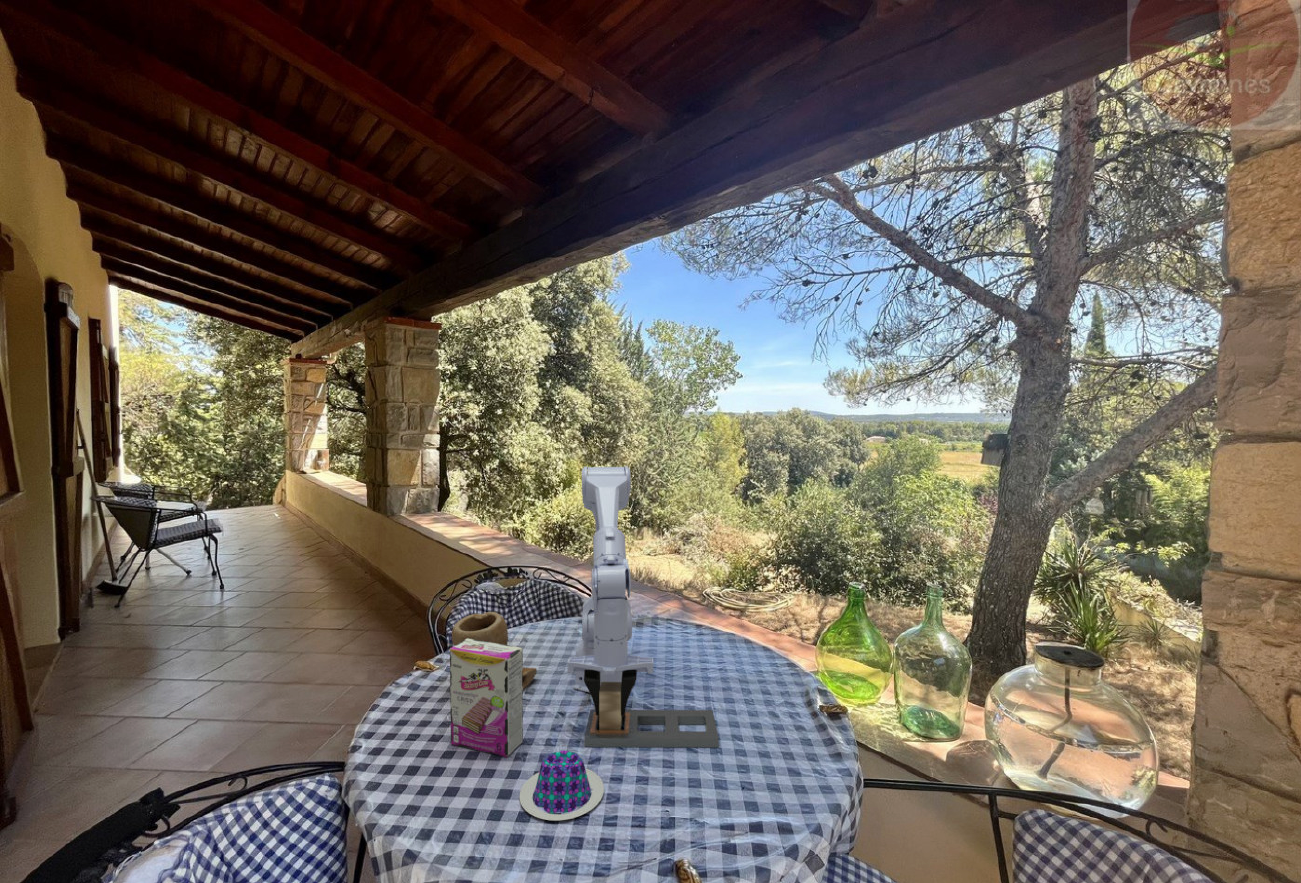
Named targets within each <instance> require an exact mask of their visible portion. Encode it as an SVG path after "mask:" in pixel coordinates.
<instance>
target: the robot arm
mask: <svg viewBox="0 0 1301 883" xmlns="http://www.w3.org/2000/svg"><path fill="white" fill-rule="evenodd" d="M631 479H632V478H631V469H630V468H629V467H628V465H624V466H587V465H586V466H583V467H582V469H581V496H582V504H583V508H584V509H586V510H588V511H591V512H592V516H593V519H594V522H595V524H594V525H595V533H594V535H593V536H592V540H593V541H592V544H593V546H592V552H593V554H592V556H593V568H591V574H590V575H591V580H590V581H591V584H590V585H591V595H590V596H589V597H588V598H587V599H586V600H584V602H583V604H582V613H581V617H582V619H581V622H582V623H581V628H582V629H581V634H582V635H581V638H582V639H581V641H580V642H579V644H578V646H577V648H576V651H575V656H573V657H571V656H569V658H568V660H567V674H574V673H575V684H574V685H572V687H573V689H574V690H577V689H578V690H577V691H582V692H587V693H589V694H590V696H591V699H592V703H593V705H594V710H595V711H596V715H599V691H600V685H601V682H622V702H621V715H623V716H624V715H625V710H627V709H626V708H627V705H628V700H629V697H630V695H631V693H632V690H633V688H634V686H636V682H637V673H646V674H649V675H650V674H651V675H652V674H654V658H653V657H645V656H644V657H643V656H638V655H637V656H636V655H631V654H628V646H629V645H628V642H629V641H631V639H632V636H633V617H632V607H631V606H632V605H631V603H630V600H628V599H630V596H631V591H632V578H631V577H632V576H631V569H630V566H629V561H628V558H627V554H626V553H627V551H626V538H625V537H626V536H625V534H624V533H623V531H622V530H621V529H618V526H619V524H618V523H619V512H620V511H622V510H623V509H626V508H627V507H628V503H629V502H630V495H631V489H632V488H631V487H632V485H631V483H632V480H631ZM626 592H627V593H626ZM626 595H627V596H626Z"/></svg>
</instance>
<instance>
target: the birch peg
mask: <svg viewBox="0 0 1301 883" xmlns="http://www.w3.org/2000/svg"><path fill="white" fill-rule="evenodd" d="M621 702H622V682H601V685H600V691H599V724H598V727H599V729H598V730H622V725H623V724H622V715H621Z"/></svg>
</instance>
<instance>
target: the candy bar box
mask: <svg viewBox="0 0 1301 883" xmlns="http://www.w3.org/2000/svg"><path fill="white" fill-rule="evenodd" d="M523 654H524V653H523V647H519V646H513V645H508V644H507V645H502V644H496V643H490V642H485V641H479V640H474V639H468V638H467V639H465V640H464V641H462V642H460V643H459V644H457V645H455V646H454V645H453V646H452V647H450V648H449V674H450V676H449V681H450V682H449V686H450V687H449V688H450V695H449V696H450V701H449V703H450V744H451V745H454V746H458V747H462V748H468V749H471V750H475V751H479V752H483V753H488V754H493V755H496V756H500V757H505V758H508V757H510V755H512V754H513V753H514V752H515V750H516V749H517V748H519V747H520V746H521V744H523V741H524V729H523V728H524V722H523V720H524V718H523V714H524V712H523V711H524V707H523V705H524V704H523V703H524V701H523V700H524V698H523V697H524V696H523V693H524V692H523V690H524V689H523V668H524V667H523V661H524V660H523V658H524V657H523Z"/></svg>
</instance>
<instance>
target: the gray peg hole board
mask: <svg viewBox="0 0 1301 883" xmlns="http://www.w3.org/2000/svg"><path fill="white" fill-rule="evenodd" d="M621 725H624V726H623V728H624V729H621V730H599V729H598V727H599V715H596V711H595V709H590V710H589V713H588V719H587V724H586V729H585V734H584V738H583V739H584V740H583V741H584V747H585V748H719V743H720V742H719V735H718V729H717V724H716V720H715V715H714V710H713V709H712V710H710V709H701V710H699V709H625V715H624V716H623V715H622V724H621ZM639 725H664V728H665V730H663V731H662V730H658V731H657V730H656V731H655V730H643V731H642V730H639V729H638V726H639ZM680 725H681V726H682V725H684V726H685V725H689V726H691V725H693V726H694V725H695V726H696V725H697V726H698V725H703V726H704V728H705V730H703V731H702V730H701V731H693V730H692V731H691V730H690V731H685V730H683V731H682V730H681V731H680V728H679V726H680Z"/></svg>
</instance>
